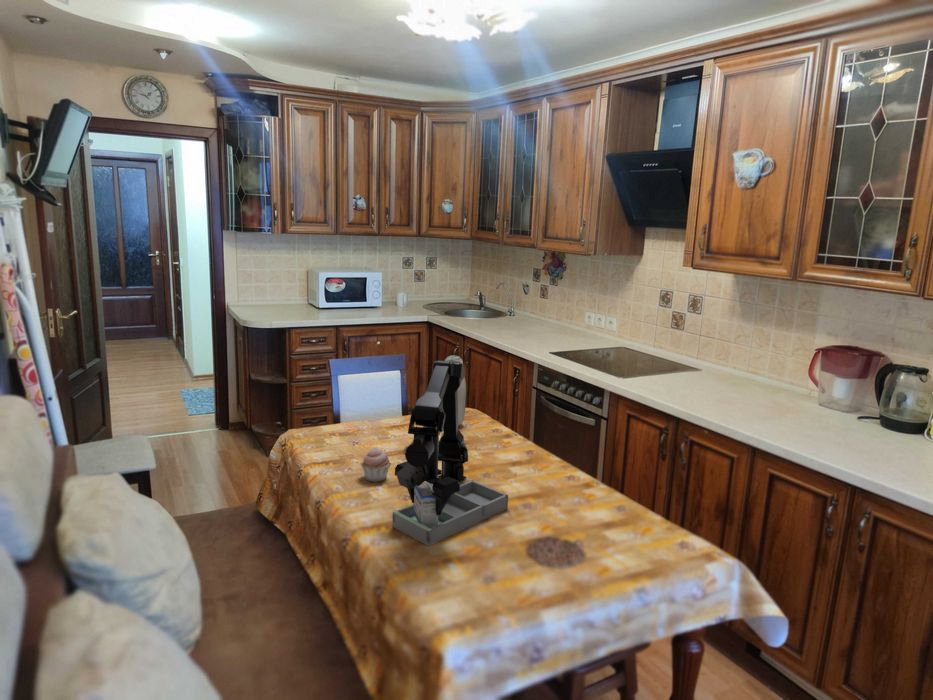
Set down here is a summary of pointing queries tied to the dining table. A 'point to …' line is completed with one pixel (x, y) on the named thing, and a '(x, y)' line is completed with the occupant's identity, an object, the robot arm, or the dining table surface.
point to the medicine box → (425, 505)
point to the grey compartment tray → (453, 513)
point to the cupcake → (376, 465)
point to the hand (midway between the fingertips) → (426, 508)
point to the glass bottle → (459, 391)
